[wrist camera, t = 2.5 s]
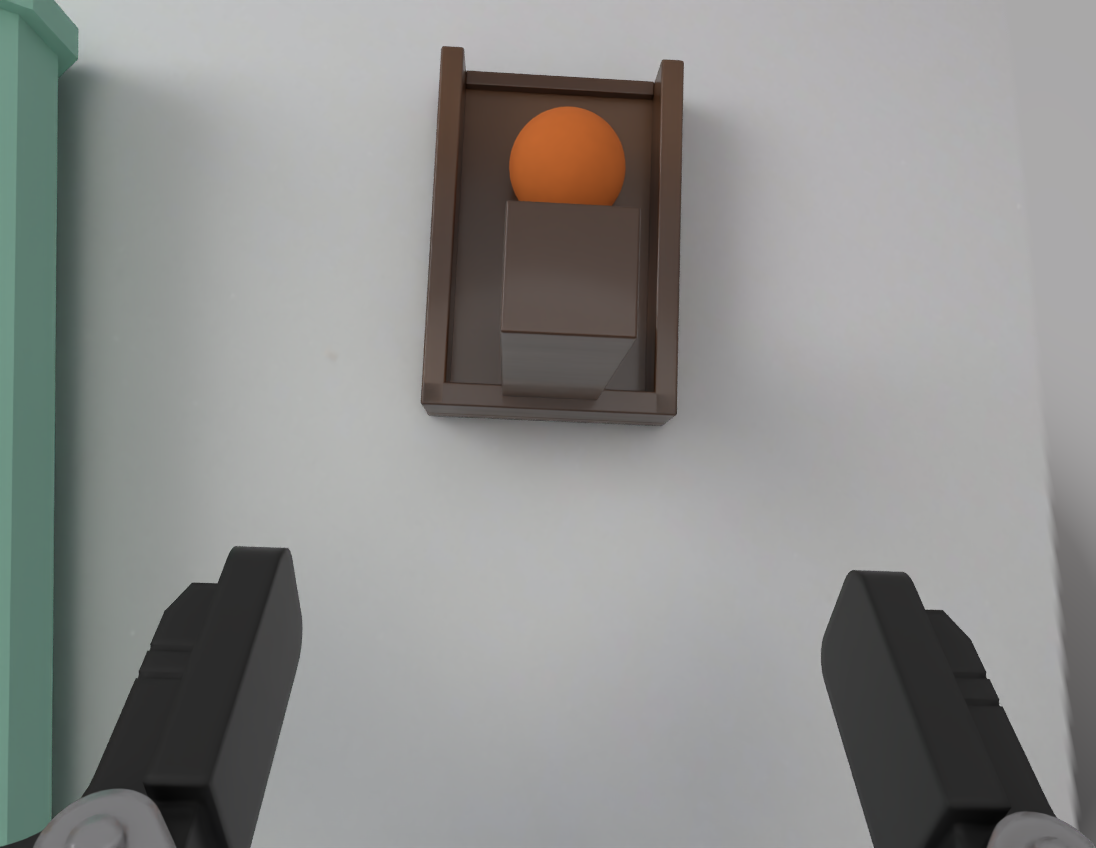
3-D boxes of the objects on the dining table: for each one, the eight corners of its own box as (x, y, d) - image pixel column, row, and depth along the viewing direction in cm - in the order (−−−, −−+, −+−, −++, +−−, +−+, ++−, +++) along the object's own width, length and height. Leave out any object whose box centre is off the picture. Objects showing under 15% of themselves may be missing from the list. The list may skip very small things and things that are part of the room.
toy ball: (598, 154, 25) (626, 79, 23) (618, 246, 24) (650, 180, 22) (494, 157, 25) (509, 80, 22) (510, 252, 24) (529, 184, 21)
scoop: (446, 84, 26) (414, -159, 17) (669, 98, 26) (756, -135, 17) (427, 415, 24) (382, 343, 15) (662, 426, 25) (751, 360, 16)
